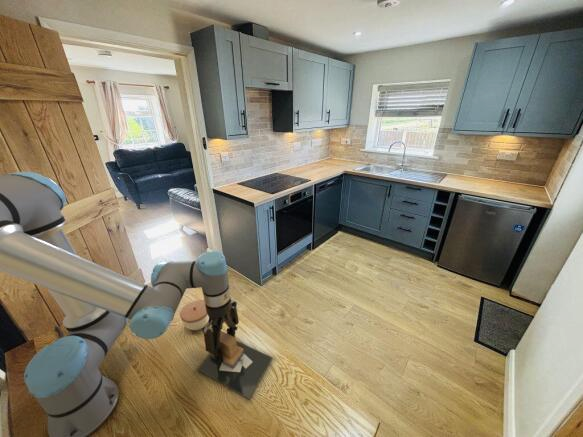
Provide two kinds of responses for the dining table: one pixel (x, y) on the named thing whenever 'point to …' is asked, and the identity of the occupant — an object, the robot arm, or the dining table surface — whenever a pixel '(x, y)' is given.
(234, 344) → the wooden stepped block
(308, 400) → the dining table surface
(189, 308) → the trinket box
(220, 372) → the slate board
